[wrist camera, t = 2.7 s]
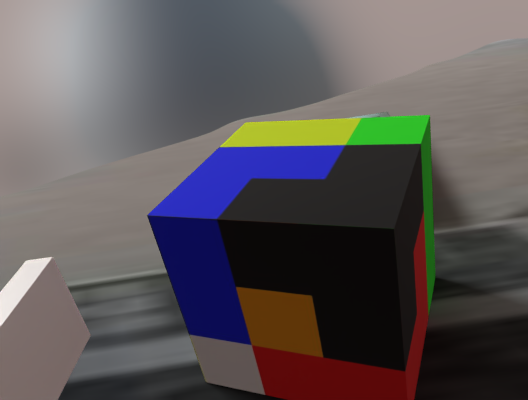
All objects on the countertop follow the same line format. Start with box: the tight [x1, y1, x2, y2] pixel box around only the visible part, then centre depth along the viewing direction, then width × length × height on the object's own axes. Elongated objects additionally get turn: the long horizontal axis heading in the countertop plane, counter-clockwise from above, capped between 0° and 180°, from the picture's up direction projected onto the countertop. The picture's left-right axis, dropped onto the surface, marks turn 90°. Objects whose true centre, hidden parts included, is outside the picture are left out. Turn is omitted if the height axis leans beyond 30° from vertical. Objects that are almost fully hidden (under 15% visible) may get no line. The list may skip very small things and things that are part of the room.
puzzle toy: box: [147, 115, 435, 400], centre depth 25 cm, size 10×10×10 cm
